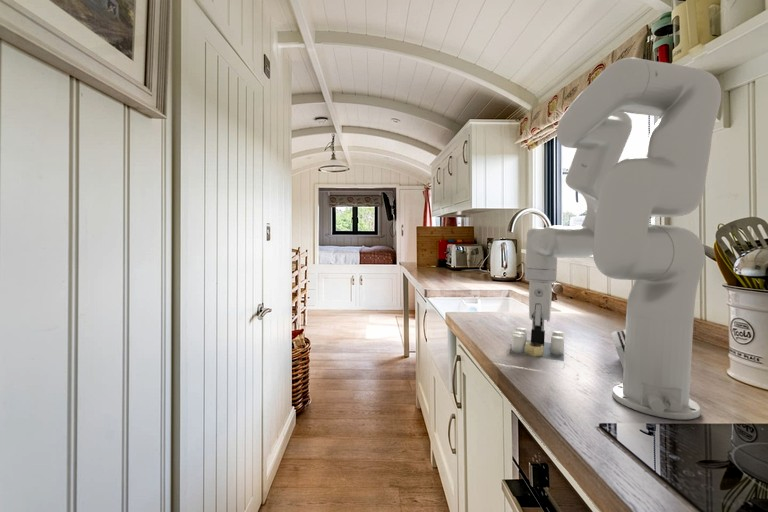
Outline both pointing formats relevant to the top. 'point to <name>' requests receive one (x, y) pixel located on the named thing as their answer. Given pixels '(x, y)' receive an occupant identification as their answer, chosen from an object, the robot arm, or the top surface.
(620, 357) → the hinge
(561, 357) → the mat
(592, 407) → the top surface
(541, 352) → the nut
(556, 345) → the spacers
